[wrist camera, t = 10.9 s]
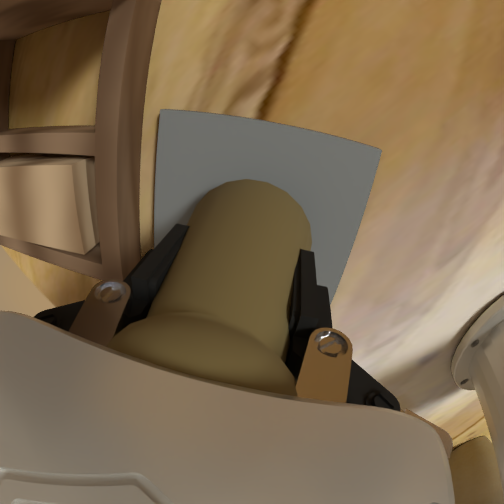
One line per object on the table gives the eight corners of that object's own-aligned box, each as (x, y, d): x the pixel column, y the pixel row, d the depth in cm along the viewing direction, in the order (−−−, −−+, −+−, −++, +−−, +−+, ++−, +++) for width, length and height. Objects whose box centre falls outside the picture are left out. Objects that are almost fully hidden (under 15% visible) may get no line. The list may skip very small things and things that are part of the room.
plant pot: (476, 454, 32) (486, 517, 18) (416, 469, 34) (420, 542, 20) (519, 414, 24) (539, 489, 11) (457, 434, 26) (472, 526, 13)
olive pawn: (335, 255, 14) (364, 496, 4) (240, 307, 16) (185, 502, 7) (260, 152, 12) (128, 362, 2) (165, 225, 14) (24, 406, 5)
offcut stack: (109, 149, 15) (71, 164, 12) (115, 227, 18) (84, 254, 15) (16, 154, 16) (-17, 168, 13) (25, 214, 18) (-4, 234, 15)
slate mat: (378, 148, 13) (381, 150, 12) (322, 317, 18) (322, 323, 18) (165, 109, 13) (160, 109, 13) (158, 281, 19) (155, 287, 18)
